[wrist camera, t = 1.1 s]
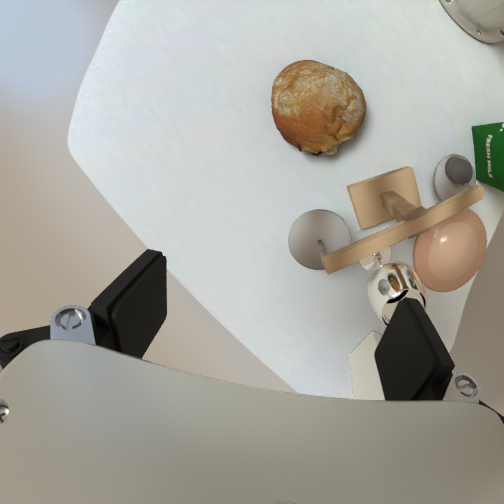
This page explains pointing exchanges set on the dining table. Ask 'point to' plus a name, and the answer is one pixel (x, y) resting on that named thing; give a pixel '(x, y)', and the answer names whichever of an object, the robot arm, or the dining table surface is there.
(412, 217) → the balance
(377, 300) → the wineglass
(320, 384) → the dining table surface
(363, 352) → the milk
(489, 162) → the milk carton
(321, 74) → the bread roll
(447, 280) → the dish
